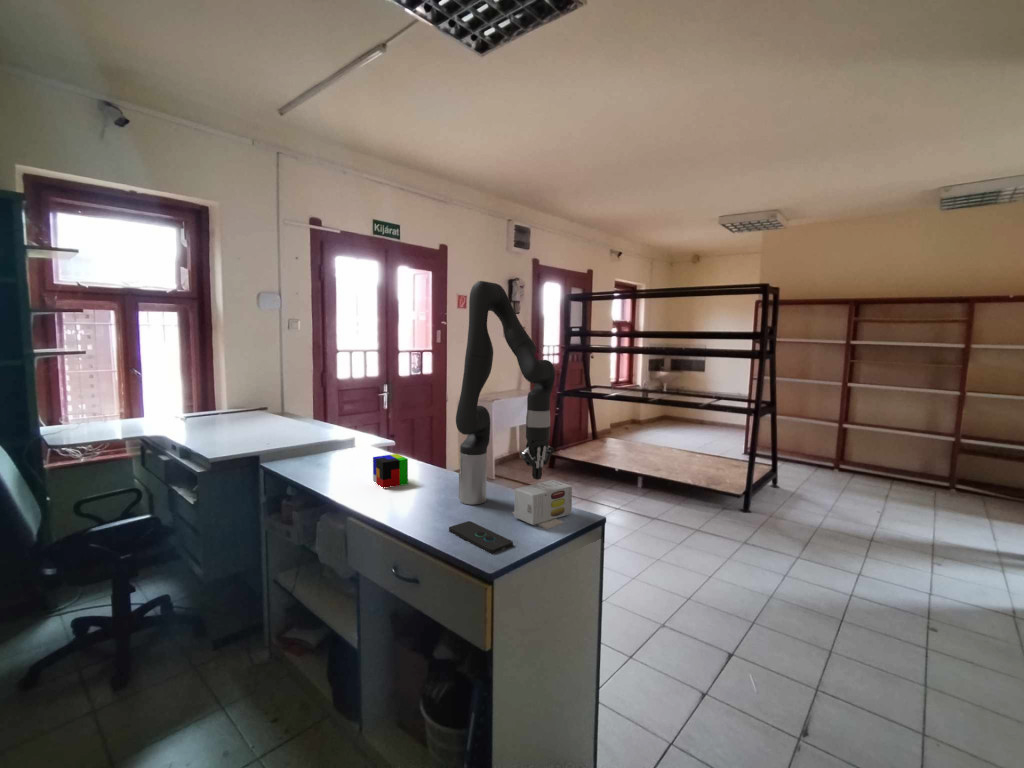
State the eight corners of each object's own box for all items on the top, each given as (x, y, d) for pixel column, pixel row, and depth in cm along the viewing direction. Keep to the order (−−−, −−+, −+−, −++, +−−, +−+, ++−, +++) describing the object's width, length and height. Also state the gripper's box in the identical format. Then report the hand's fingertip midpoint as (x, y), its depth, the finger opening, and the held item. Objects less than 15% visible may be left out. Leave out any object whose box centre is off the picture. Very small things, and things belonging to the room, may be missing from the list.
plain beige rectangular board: (512, 513, 153) (512, 511, 153) (528, 509, 157) (528, 507, 157) (546, 529, 141) (546, 527, 141) (563, 523, 145) (563, 521, 145)
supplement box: (532, 495, 140) (572, 484, 151) (513, 487, 148) (553, 478, 158) (533, 526, 141) (572, 513, 151) (513, 517, 148) (553, 506, 159)
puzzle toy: (373, 482, 184) (373, 457, 183) (397, 477, 190) (397, 453, 189) (382, 488, 176) (382, 462, 175) (407, 484, 182) (407, 458, 181)
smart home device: (491, 549, 123) (447, 526, 138) (491, 556, 124) (447, 532, 138) (514, 541, 129) (469, 520, 144) (514, 547, 129) (469, 525, 144)
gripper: (545, 420, 153) (543, 472, 154) (514, 424, 144) (513, 479, 146) (561, 423, 147) (560, 478, 149) (530, 428, 139) (529, 485, 140)
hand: (536, 478), depth 147 cm, fingers closed
